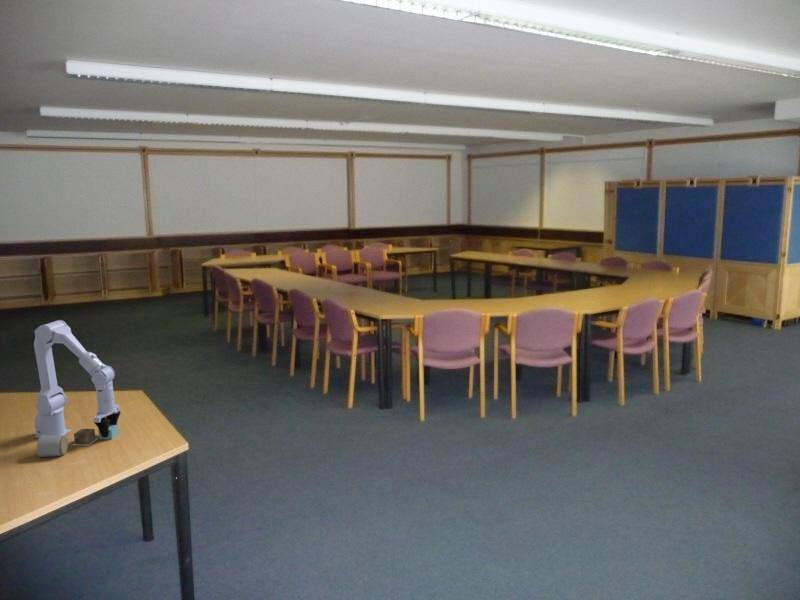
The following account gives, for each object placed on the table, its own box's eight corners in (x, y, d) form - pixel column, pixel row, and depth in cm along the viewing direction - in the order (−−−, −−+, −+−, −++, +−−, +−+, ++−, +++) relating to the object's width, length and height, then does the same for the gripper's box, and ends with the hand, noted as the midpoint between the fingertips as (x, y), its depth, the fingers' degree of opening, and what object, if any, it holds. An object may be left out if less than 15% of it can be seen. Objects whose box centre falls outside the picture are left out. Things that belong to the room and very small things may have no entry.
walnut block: (74, 444, 233) (73, 433, 232) (82, 438, 238) (81, 428, 237) (88, 444, 233) (87, 434, 232) (95, 439, 238) (94, 428, 237)
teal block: (99, 439, 238) (98, 429, 237) (106, 434, 243) (105, 424, 242) (112, 440, 237) (111, 430, 237) (119, 434, 242) (118, 425, 241)
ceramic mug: (62, 459, 221) (60, 438, 220) (37, 460, 220) (35, 439, 219) (73, 447, 232) (71, 427, 230) (49, 448, 230) (47, 428, 229)
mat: (61, 446, 231) (61, 446, 231) (75, 437, 240) (75, 436, 240) (87, 447, 231) (87, 446, 231) (100, 437, 240) (100, 437, 240)
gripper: (105, 406, 230) (109, 441, 232) (125, 393, 244) (128, 426, 246) (87, 405, 230) (90, 441, 233) (107, 392, 245) (111, 426, 247)
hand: (108, 433), depth 240 cm, fingers closed on teal block, 5 cm apart
